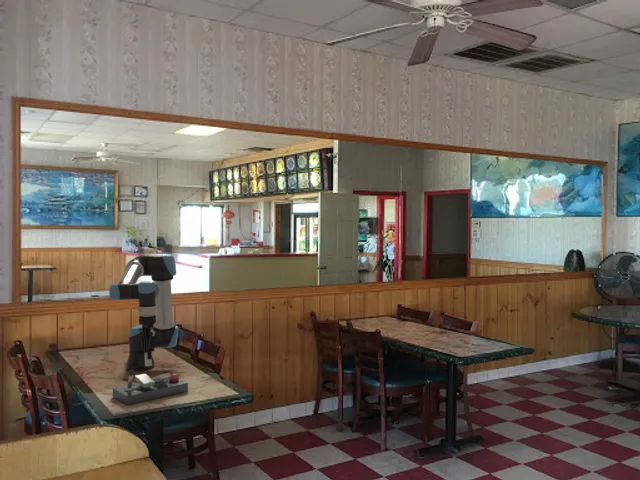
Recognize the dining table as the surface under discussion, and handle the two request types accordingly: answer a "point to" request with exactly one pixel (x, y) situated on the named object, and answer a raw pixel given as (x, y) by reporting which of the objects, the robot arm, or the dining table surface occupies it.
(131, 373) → the lever
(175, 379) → the button
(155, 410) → the dining table surface
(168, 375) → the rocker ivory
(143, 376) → the white flat block
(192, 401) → the dining table surface
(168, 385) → the panel
